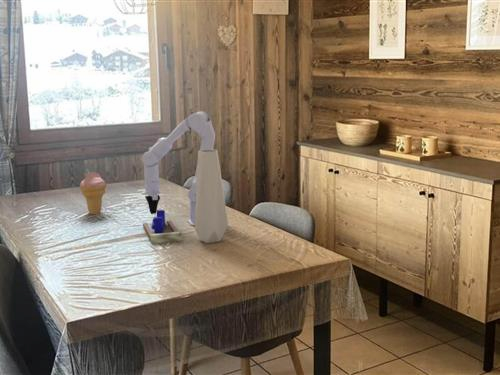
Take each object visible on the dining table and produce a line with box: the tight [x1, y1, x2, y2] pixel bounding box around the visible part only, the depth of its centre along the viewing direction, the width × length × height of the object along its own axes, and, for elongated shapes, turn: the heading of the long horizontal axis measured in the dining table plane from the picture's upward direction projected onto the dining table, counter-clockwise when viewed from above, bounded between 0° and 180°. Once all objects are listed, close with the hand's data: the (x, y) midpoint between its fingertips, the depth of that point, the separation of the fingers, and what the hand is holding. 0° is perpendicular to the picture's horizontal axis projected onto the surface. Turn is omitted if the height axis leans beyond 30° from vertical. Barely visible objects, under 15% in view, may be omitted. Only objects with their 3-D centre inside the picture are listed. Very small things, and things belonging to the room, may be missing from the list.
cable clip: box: [151, 209, 166, 234], centre depth 236 cm, size 12×4×6 cm, turn 3°
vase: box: [194, 148, 229, 244], centre depth 218 cm, size 12×12×33 cm
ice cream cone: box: [79, 165, 107, 215], centre depth 259 cm, size 11×11×20 cm
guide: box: [142, 219, 183, 244], centre depth 229 cm, size 11×22×3 cm, turn 17°
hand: (153, 213), depth 247 cm, fingers closed
